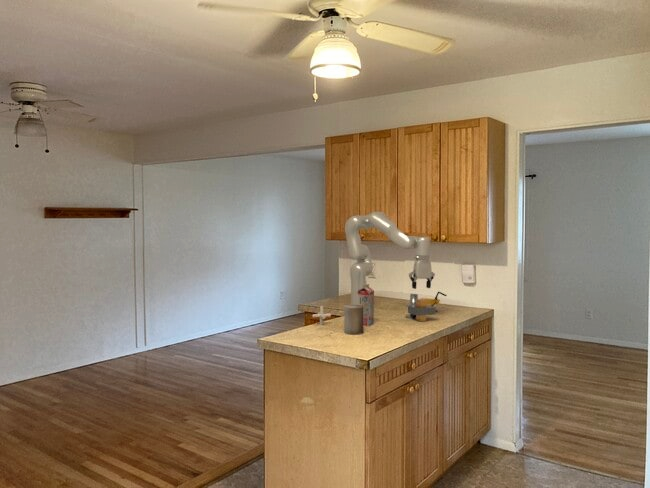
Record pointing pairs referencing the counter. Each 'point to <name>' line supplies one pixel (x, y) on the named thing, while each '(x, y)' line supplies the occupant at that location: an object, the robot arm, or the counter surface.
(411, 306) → the block with square hole
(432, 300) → the robot dog
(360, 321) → the pillar candle
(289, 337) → the counter surface
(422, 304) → the wooden block
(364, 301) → the juice carton
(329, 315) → the pipe connector
